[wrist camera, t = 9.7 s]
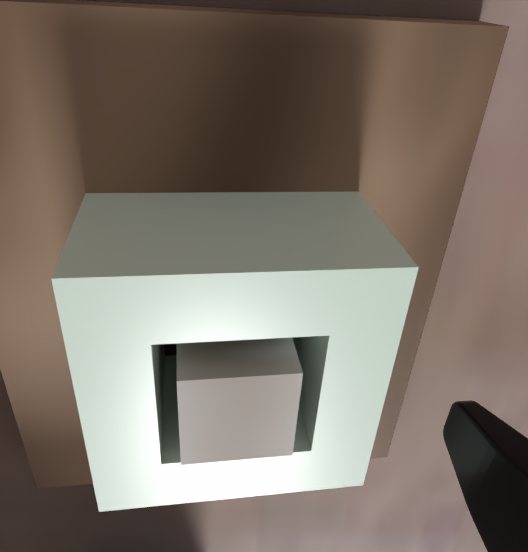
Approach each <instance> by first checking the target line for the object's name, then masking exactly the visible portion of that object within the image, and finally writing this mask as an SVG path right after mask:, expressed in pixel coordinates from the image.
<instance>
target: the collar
mask: <svg viewBox="0 0 528 552" xmlns="http://www.w3.org/2000/svg"><path fill="white" fill-rule="evenodd" d="M418 268H419V267H418V266H417V264H416V263H415V262H414V261H413V259H412V258H411V257H410V255H409V254H408V253H407V252H406V250H405V249H404V248H403V247H402V245H401V244H400V243H399V242H398V240H397V239H396V238H395V237H394V235H393V234H392V233H391V232H390V230H389V229H388V228H387V227H386V225H385V224H384V223H383V222H382V220H381V219H380V218H379V217H378V215H377V214H376V213H375V212H374V210H373V209H372V208H371V206H370V205H369V204H368V203H367V201H366V200H365V199H364V198H363V196H362V195H361V194H360V193H359V192H196V193H85V196H84V198H83V201H82V203H81V206H80V208H79V211H78V213H77V216H76V218H75V221H74V223H73V226H72V228H71V231H70V233H69V236H68V238H67V241H66V243H65V246H64V248H63V251H62V253H61V256H60V258H59V261H58V263H57V266H56V268H55V271H54V273H53V275H52V278H51V280H52V285H53V290H54V295H55V299H56V304H57V309H58V314H59V319H60V324H61V329H62V334H63V339H64V343H65V348H66V353H67V358H68V363H69V368H70V373H71V378H72V383H73V387H74V392H75V397H76V402H77V407H78V412H79V417H80V422H81V427H82V431H83V436H84V441H85V446H86V451H87V456H88V461H89V466H90V471H91V475H92V480H93V485H94V490H95V495H96V500H97V505H98V510H99V512H103V511H113V510H123V509H133V508H143V507H152V506H162V505H172V504H182V503H192V502H202V501H212V500H222V499H231V498H241V497H251V496H261V495H271V494H281V493H291V492H301V491H310V490H320V489H330V488H340V487H350V486H360V485H363V483H364V479H365V476H366V472H367V468H368V464H369V460H370V456H371V452H372V448H373V444H374V440H375V436H376V433H377V429H378V425H379V421H380V417H381V413H382V409H383V405H384V401H385V397H386V393H387V390H388V386H389V382H390V378H391V374H392V370H393V366H394V362H395V358H396V354H397V350H398V347H399V343H400V339H401V335H402V331H403V327H404V323H405V319H406V315H407V311H408V307H409V304H410V300H411V296H412V292H413V288H414V284H415V280H416V276H417V272H418ZM291 337H292V338H293V342H294V345H295V348H296V352H297V355H298V358H299V361H300V365H301V368H302V371H303V378H302V386H301V394H300V401H299V409H298V417H297V424H296V432H295V440H294V448H293V455H289V456H278V457H266V458H255V459H244V460H233V461H221V462H210V463H199V464H188V465H181V457H180V438H179V418H178V399H177V355H171V356H165V352H164V344H176V343H195V342H214V341H233V340H252V339H271V338H291Z"/></svg>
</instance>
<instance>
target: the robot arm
mask: <svg viewBox="0 0 528 552" xmlns="http://www.w3.org/2000/svg"><path fill="white" fill-rule="evenodd" d="M443 436H444V440H445V443H446V446H447V449H448V452H449V455H450V458H451V461H452V464H453V466H454V469H455V472H456V475H457V478H458V481H459V484H460V487H461V490H462V493H463V495H464V498H465V501H466V504H467V506H468V509H469V511H470V514H471V516H472V518H473V521H474V523H475V525H476V527H477V529H478V532H479V534H480V536H481V538H482V540H483V542H484V545H485V547H486V549H487V551H488V552H528V438H526V437H525V436H523V435H522V434H521V433H519V432H518V431H516V430H515V429H514V428H512V427H511V426H509V425H508V424H506V423H505V422H504V421H502V420H501V419H499V418H498V417H497V416H495V415H494V414H492V413H491V412H490V411H488V410H487V409H485V408H484V407H482V406H481V405H480V404H478V403H477V402H475V401H457V402H455V403H454V404H452V406H451V409H450V412H449V414H448V417H447V420H446V423H445V426H444V430H443Z"/></svg>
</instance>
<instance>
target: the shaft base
mask: <svg viewBox="0 0 528 552" xmlns="http://www.w3.org/2000/svg"><path fill="white" fill-rule="evenodd" d="M508 29H509V27H508V26H503V25H498V24H492V23H487V22H482V21H467V20H448V19H428V18H409V17H390V16H371V15H352V14H332V13H313V12H294V11H275V10H256V9H236V8H217V7H198V6H179V5H160V4H140V3H121V2H102V1H83V0H0V370H1V373H2V376H3V380H4V383H5V386H6V390H7V393H8V396H9V400H10V403H11V406H12V410H13V413H14V416H15V419H16V423H17V426H18V429H19V433H20V436H21V439H22V443H23V446H24V449H25V453H26V456H27V459H28V462H29V466H30V469H31V472H32V476H33V479H34V482H35V486H36V489H45V488H56V487H67V486H77V485H88V484H93V480H92V475H91V471H90V466H89V461H88V456H87V451H86V446H85V441H84V436H83V431H82V427H81V422H80V417H79V412H78V407H77V402H76V397H75V392H74V387H73V383H72V378H71V373H70V368H69V363H68V358H67V353H66V348H65V343H64V339H63V334H62V329H61V324H60V319H59V314H58V309H57V304H56V299H55V295H54V290H53V285H52V280H51V278H52V275H53V273H54V271H55V268H56V266H57V263H58V261H59V258H60V256H61V253H62V251H63V248H64V246H65V243H66V241H67V238H68V236H69V233H70V231H71V228H72V226H73V223H74V221H75V218H76V216H77V213H78V211H79V208H80V206H81V203H82V201H83V198H84V196H85V193H196V192H359V193H360V194H361V195H362V196H363V198H364V199H365V200H366V201H367V203H368V204H369V205H370V206H371V208H372V209H373V210H374V212H375V213H376V214H377V215H378V217H379V218H380V219H381V220H382V222H383V223H384V224H385V225H386V227H387V228H388V229H389V230H390V232H391V233H392V234H393V235H394V237H395V238H396V239H397V240H398V242H399V243H400V244H401V245H402V247H403V248H404V249H405V250H406V252H407V253H408V254H409V255H410V257H411V258H412V259H413V261H414V262H415V263H416V264H417V266H418V267H419V268H418V272H417V276H416V280H415V284H414V288H413V292H412V296H411V300H410V304H409V307H408V311H407V315H406V319H405V323H404V327H403V331H402V335H401V339H400V343H399V347H398V350H397V354H396V358H395V362H394V366H393V370H392V374H391V378H390V382H389V386H388V390H387V393H386V397H385V401H384V405H383V409H382V413H381V417H380V421H379V425H378V429H377V433H376V436H375V440H374V444H373V448H372V452H371V456H370V458H381V457H387V455H388V451H389V448H390V444H391V441H392V437H393V434H394V430H395V427H396V423H397V420H398V416H399V413H400V409H401V406H402V402H403V399H404V395H405V392H406V388H407V385H408V381H409V377H410V374H411V370H412V367H413V363H414V360H415V356H416V353H417V349H418V346H419V342H420V339H421V335H422V332H423V328H424V325H425V321H426V318H427V314H428V311H429V307H430V304H431V300H432V297H433V293H434V290H435V286H436V282H437V279H438V275H439V272H440V268H441V265H442V261H443V258H444V254H445V251H446V247H447V244H448V240H449V237H450V233H451V230H452V226H453V223H454V219H455V216H456V212H457V209H458V205H459V202H460V198H461V195H462V191H463V187H464V184H465V180H466V177H467V173H468V170H469V166H470V163H471V159H472V156H473V152H474V149H475V145H476V142H477V138H478V135H479V131H480V128H481V124H482V121H483V117H484V114H485V110H486V107H487V103H488V99H489V96H490V92H491V89H492V85H493V82H494V78H495V75H496V71H497V68H498V64H499V61H500V57H501V54H502V50H503V47H504V43H505V40H506V36H507V33H508ZM164 352H165V356H171V355H177V399H178V418H179V438H180V457H181V465H188V464H199V463H210V462H221V461H233V460H244V459H255V458H266V457H278V456H289V455H293V448H294V440H295V432H296V424H297V417H298V409H299V401H300V394H301V386H302V378H303V371H302V368H301V365H300V361H299V358H298V355H297V352H296V348H295V345H294V342H293V338H292V337H291V338H271V339H252V340H233V341H214V342H195V343H176V344H164Z"/></svg>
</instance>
